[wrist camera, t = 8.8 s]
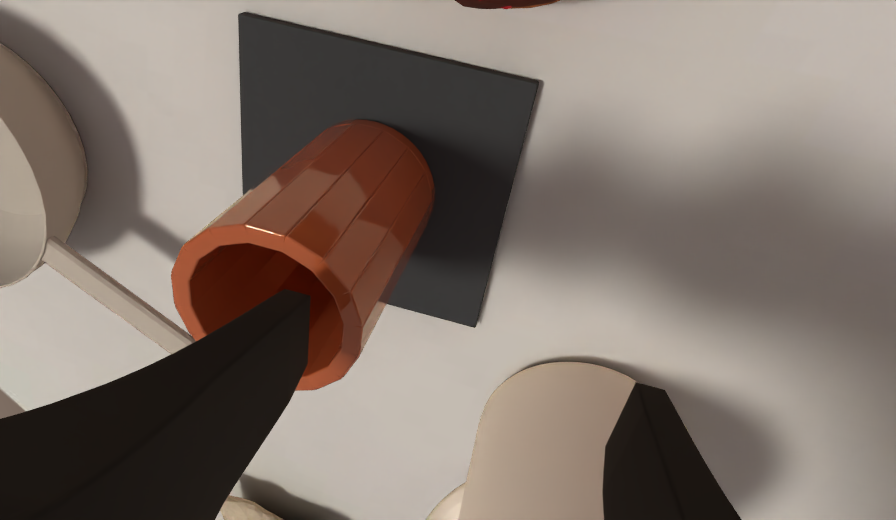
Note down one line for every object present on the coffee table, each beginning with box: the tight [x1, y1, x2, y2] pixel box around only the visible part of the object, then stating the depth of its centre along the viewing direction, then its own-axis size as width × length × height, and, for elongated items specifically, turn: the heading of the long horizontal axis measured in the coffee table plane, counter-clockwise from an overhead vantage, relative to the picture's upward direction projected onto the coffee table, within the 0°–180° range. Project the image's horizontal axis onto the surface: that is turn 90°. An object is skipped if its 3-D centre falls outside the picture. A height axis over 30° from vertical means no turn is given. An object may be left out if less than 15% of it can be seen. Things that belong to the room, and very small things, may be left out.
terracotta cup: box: [171, 119, 435, 391], centre depth 18 cm, size 5×5×8 cm
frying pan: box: [0, 43, 196, 354], centre depth 23 cm, size 11×18×4 cm, turn 54°
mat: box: [238, 12, 539, 328], centre depth 21 cm, size 10×10×1 cm
